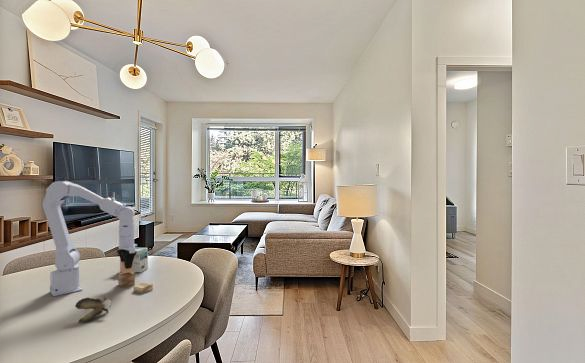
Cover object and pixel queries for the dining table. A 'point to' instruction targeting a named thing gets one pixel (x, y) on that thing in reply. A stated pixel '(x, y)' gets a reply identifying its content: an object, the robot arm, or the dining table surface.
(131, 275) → the tower top
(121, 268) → the terracotta cube
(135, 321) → the dining table surface
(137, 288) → the slab
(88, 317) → the eagle figurine
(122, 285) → the tower base
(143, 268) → the light bulb box
